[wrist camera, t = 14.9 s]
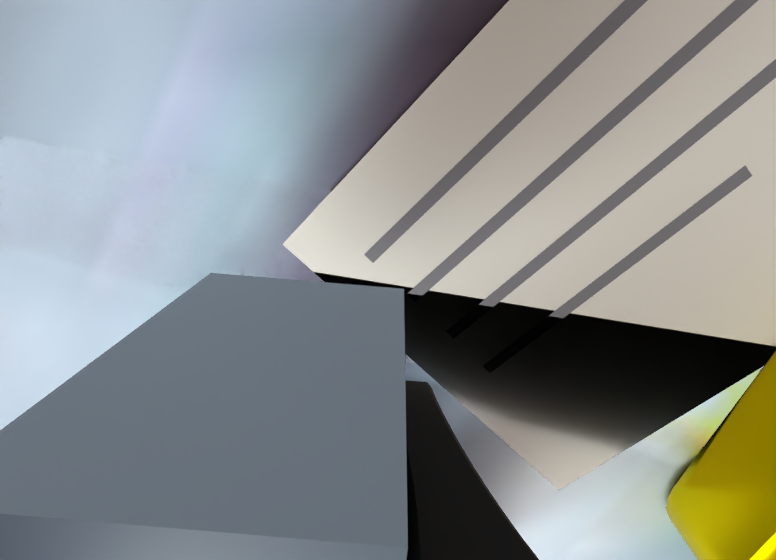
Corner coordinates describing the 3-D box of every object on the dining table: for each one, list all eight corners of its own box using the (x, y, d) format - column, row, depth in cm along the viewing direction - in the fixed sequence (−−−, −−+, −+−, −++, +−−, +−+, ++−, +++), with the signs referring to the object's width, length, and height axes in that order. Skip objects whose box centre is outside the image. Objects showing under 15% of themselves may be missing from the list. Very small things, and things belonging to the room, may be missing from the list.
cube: (389, 440, 11) (375, 783, 5) (225, 426, 11) (30, 755, 5) (404, 288, 9) (408, 548, 3) (211, 272, 9) (-100, 505, 3)
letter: (557, 486, 20) (558, 490, 20) (284, 242, 16) (282, 244, 15) (1147, 126, 13) (1159, 126, 13) (948, -473, 9) (961, -487, 9)
